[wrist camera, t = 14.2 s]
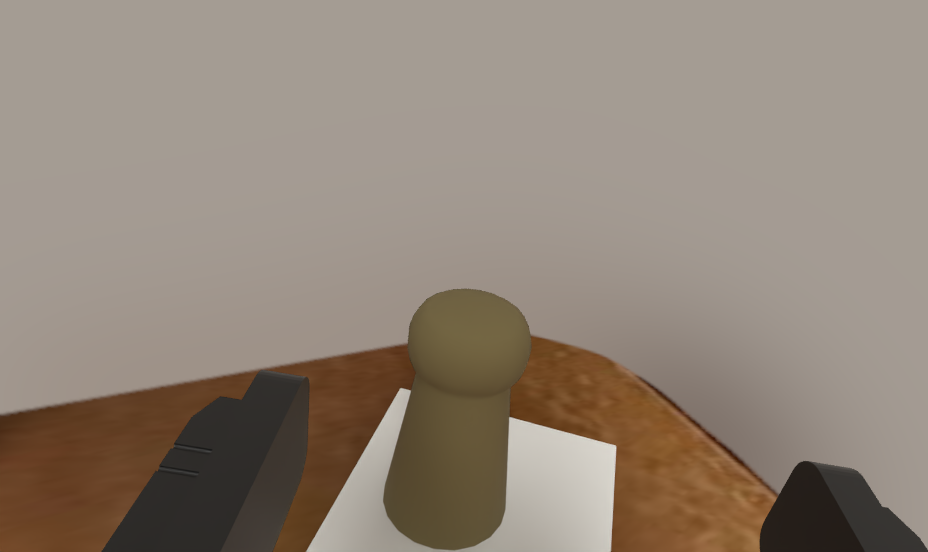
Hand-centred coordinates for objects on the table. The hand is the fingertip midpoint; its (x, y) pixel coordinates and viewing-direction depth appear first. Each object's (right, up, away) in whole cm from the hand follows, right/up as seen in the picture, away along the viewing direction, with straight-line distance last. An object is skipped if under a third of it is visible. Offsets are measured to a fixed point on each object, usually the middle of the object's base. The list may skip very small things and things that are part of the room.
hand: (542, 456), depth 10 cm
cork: (-2, -8, +20) cm, 22 cm away
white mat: (-1, -8, +21) cm, 23 cm away
